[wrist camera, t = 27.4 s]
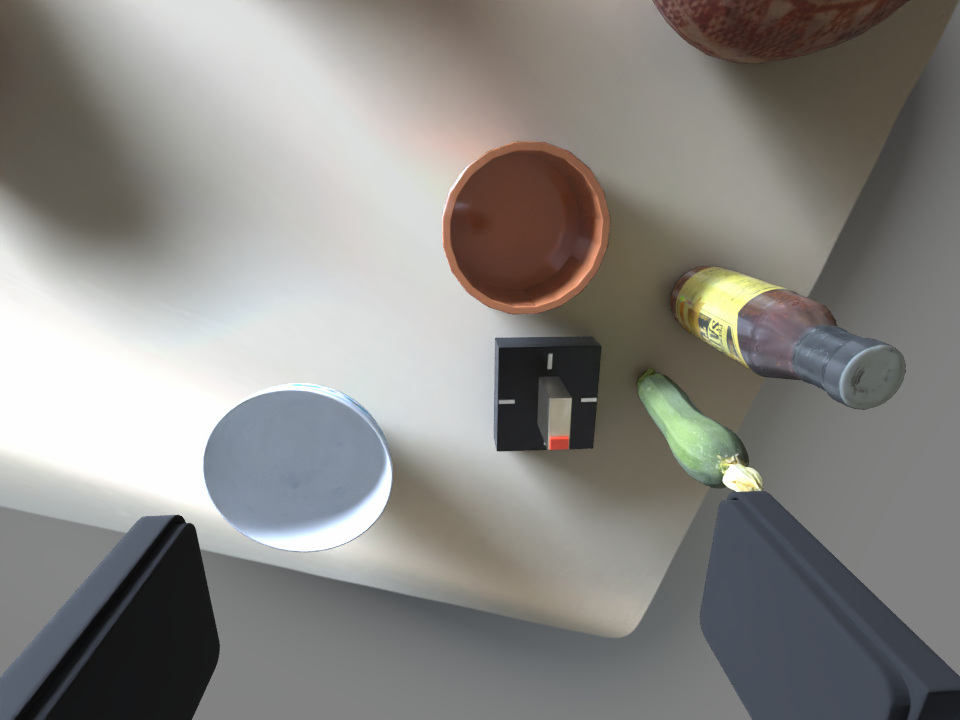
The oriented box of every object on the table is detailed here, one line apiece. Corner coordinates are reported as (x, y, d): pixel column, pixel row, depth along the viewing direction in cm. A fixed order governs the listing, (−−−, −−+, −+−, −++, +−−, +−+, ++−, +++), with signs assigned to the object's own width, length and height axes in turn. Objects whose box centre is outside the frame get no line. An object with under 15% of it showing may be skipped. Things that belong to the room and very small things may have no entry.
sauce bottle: (652, 303, 48) (789, 383, 29) (701, 249, 47) (877, 295, 28) (700, 345, 50) (859, 446, 31) (749, 294, 48) (945, 366, 30)
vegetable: (673, 390, 51) (810, 514, 32) (635, 414, 52) (747, 550, 33) (652, 355, 50) (782, 463, 31) (613, 380, 50) (716, 501, 31)
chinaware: (203, 434, 49) (162, 479, 42) (309, 323, 46) (284, 350, 39) (329, 527, 53) (311, 582, 46) (432, 429, 50) (431, 471, 43)
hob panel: (495, 337, 48) (498, 348, 45) (592, 336, 49) (602, 346, 46) (493, 436, 51) (497, 452, 48) (584, 433, 52) (593, 449, 49)
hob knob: (538, 376, 46) (550, 400, 41) (559, 376, 46) (573, 399, 41) (537, 424, 48) (548, 452, 43) (556, 423, 48) (570, 451, 43)
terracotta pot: (441, 146, 42) (441, 140, 36) (589, 148, 43) (616, 142, 37) (443, 296, 46) (444, 315, 40) (580, 294, 47) (602, 313, 41)
